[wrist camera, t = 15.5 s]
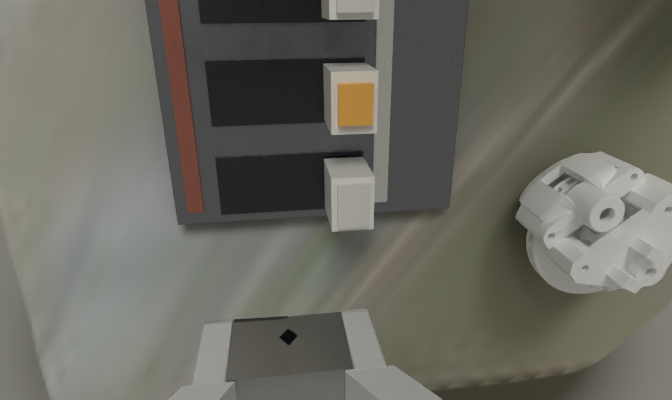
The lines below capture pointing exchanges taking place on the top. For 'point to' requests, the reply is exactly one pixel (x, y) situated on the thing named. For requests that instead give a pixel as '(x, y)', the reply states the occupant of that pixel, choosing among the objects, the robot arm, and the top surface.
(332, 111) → the breaker mid
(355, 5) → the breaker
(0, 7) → the top surface
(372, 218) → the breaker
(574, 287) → the mechanical part
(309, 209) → the panel
